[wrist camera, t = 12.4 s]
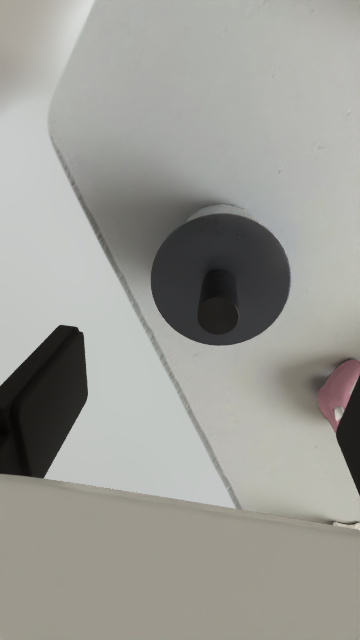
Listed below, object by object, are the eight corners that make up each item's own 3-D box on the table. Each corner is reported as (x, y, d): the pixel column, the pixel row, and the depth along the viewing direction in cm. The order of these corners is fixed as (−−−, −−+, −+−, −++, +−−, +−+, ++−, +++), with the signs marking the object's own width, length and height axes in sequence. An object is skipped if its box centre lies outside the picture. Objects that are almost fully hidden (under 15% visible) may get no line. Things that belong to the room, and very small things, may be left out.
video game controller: (317, 361, 36) (304, 410, 32) (358, 353, 33) (351, 407, 29) (357, 416, 39) (350, 468, 35) (399, 414, 36) (397, 471, 31)
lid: (151, 330, 26) (132, 375, 20) (156, 204, 21) (134, 218, 16) (271, 346, 25) (285, 396, 20) (303, 219, 21) (332, 239, 15)
